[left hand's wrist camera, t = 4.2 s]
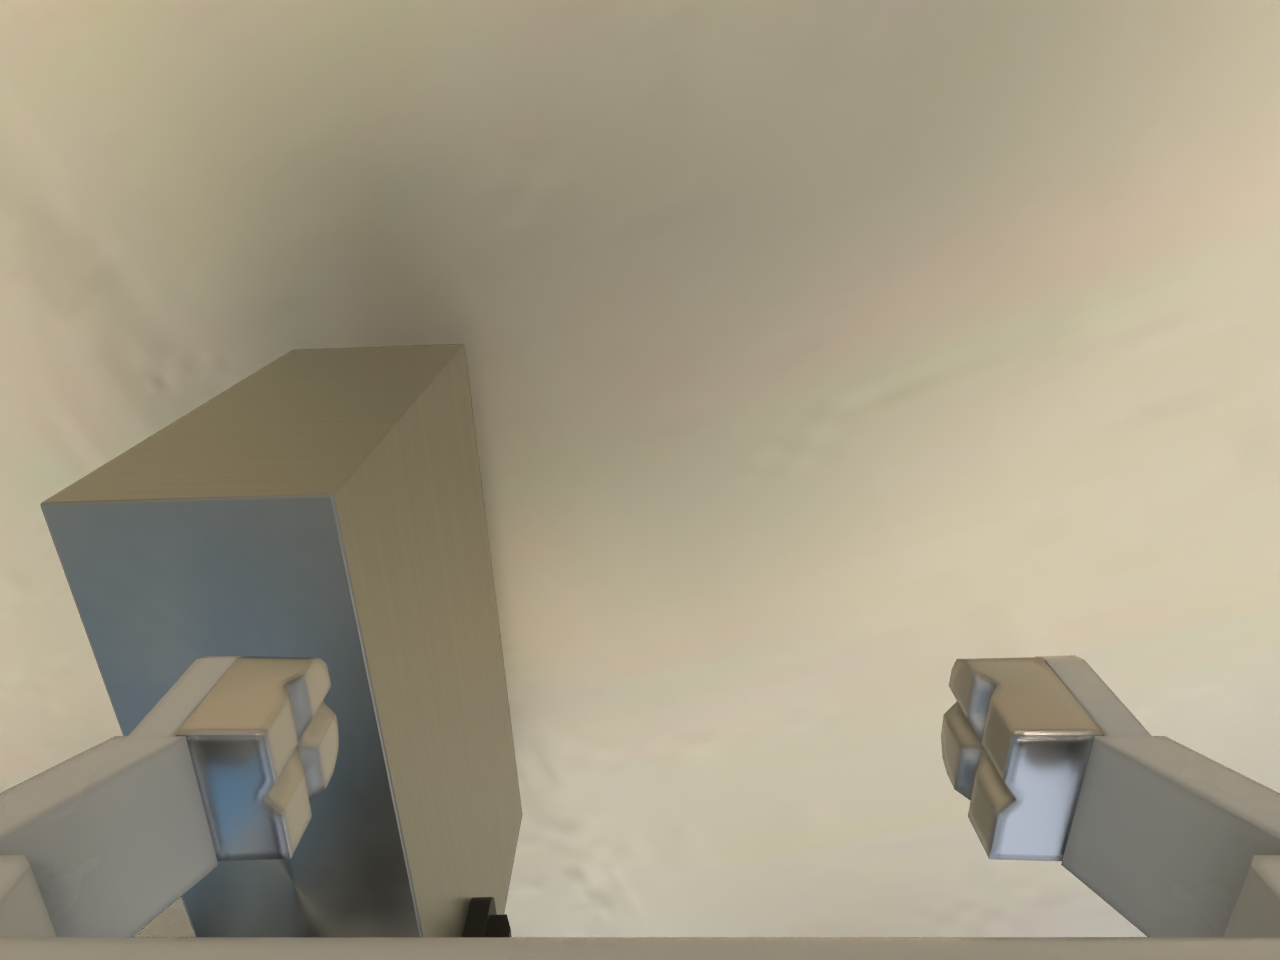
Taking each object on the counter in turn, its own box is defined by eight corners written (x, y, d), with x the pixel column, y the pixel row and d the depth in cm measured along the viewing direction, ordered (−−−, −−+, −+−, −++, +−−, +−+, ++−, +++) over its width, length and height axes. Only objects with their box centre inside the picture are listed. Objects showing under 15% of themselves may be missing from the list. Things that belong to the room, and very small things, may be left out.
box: (291, 349, 28) (37, 503, 16) (464, 343, 28) (333, 494, 16) (389, 817, 36) (267, 1139, 25) (522, 814, 36) (463, 1137, 24)
